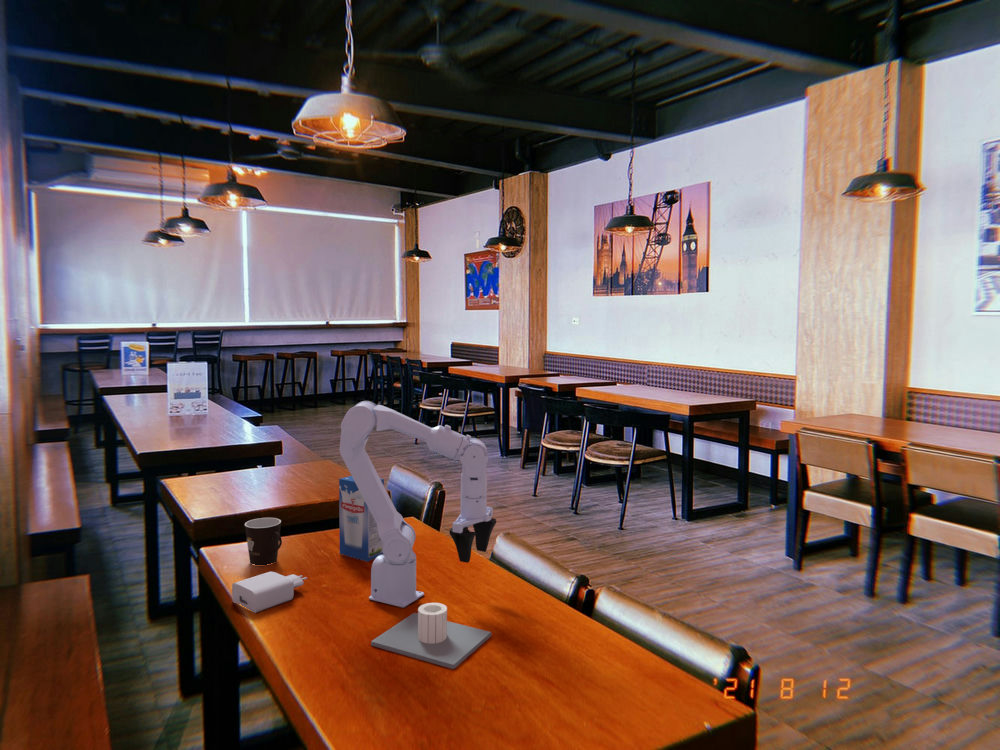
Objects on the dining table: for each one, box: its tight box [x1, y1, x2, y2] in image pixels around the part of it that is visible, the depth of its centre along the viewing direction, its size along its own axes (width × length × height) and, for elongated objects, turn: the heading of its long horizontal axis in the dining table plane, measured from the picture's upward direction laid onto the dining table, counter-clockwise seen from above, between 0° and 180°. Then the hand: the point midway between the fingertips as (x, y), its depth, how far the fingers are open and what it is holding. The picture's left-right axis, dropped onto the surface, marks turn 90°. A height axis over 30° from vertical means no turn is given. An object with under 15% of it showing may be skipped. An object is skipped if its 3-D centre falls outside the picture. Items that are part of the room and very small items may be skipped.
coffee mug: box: [244, 517, 283, 566], centre depth 164 cm, size 12×9×10 cm
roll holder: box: [370, 612, 492, 670], centre depth 125 cm, size 18×14×3 cm
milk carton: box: [338, 475, 385, 562], centre depth 171 cm, size 10×6×20 cm, turn 58°
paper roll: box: [417, 602, 448, 644], centre depth 125 cm, size 5×5×6 cm
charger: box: [231, 571, 308, 614], centre depth 144 cm, size 5×9×15 cm
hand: (473, 556), depth 144 cm, fingers open, 7 cm apart
